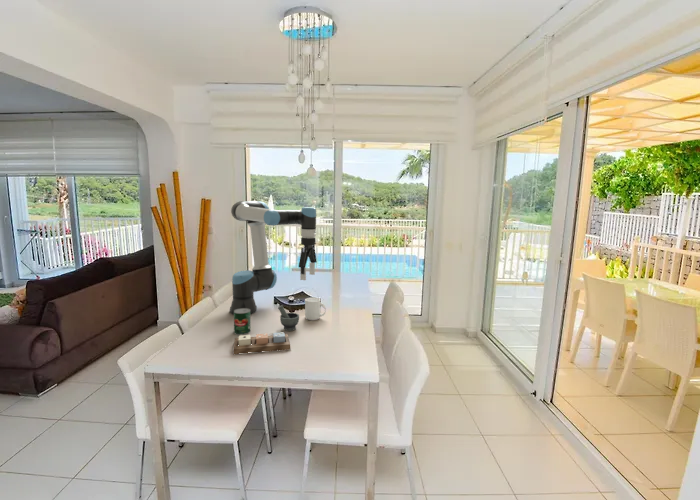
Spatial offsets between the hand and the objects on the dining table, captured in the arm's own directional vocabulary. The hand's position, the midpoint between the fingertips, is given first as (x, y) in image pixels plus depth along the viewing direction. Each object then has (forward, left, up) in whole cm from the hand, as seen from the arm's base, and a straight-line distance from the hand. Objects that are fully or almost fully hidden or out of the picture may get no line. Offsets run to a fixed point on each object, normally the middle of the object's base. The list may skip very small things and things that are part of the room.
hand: (307, 277), depth 185 cm
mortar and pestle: (-4, -11, -26) cm, 28 cm away
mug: (-1, +10, -26) cm, 28 cm away
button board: (0, -35, -26) cm, 43 cm away
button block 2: (0, -35, -24) cm, 42 cm away
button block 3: (+6, -29, -24) cm, 38 cm away
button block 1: (-5, -40, -24) cm, 47 cm away
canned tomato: (-20, -27, -26) cm, 42 cm away
